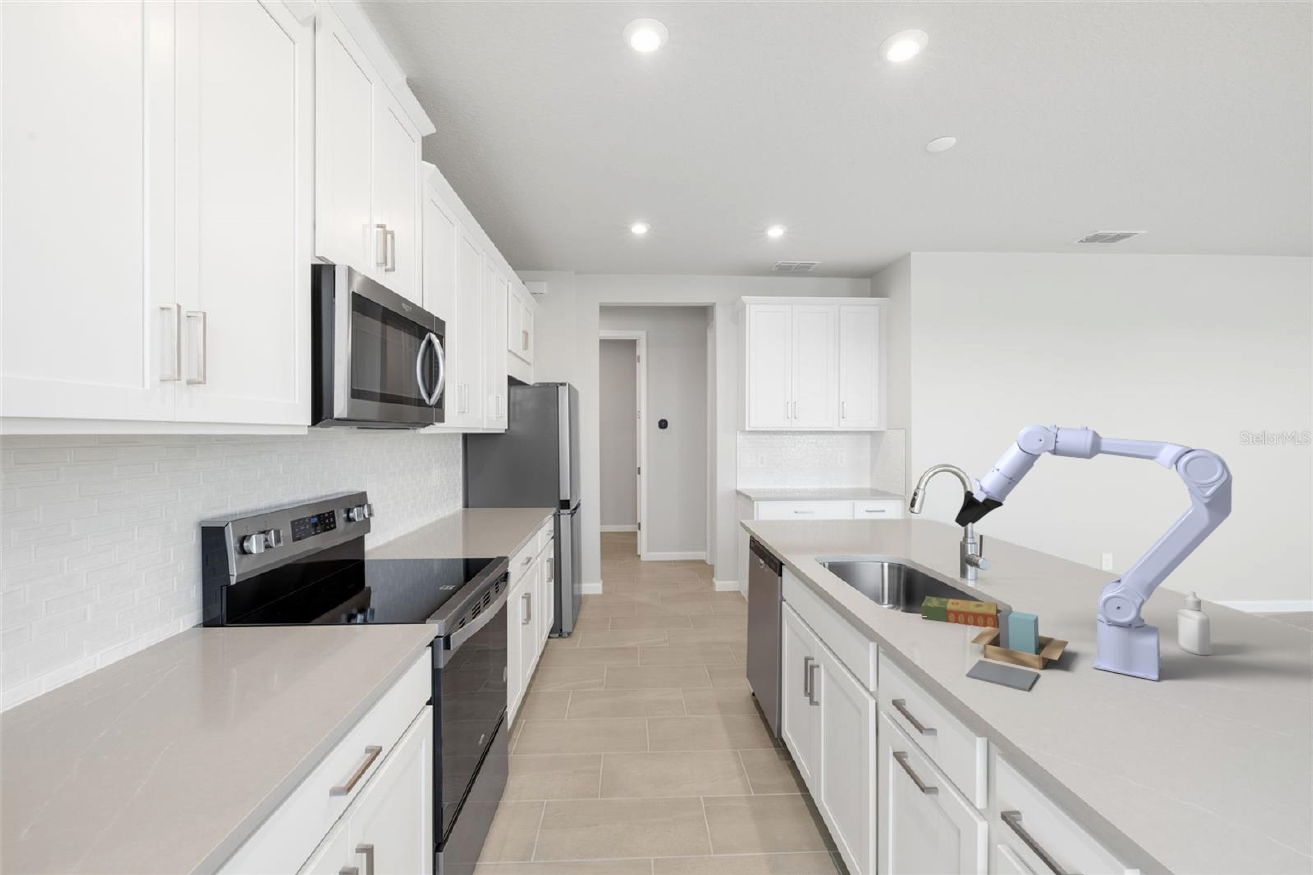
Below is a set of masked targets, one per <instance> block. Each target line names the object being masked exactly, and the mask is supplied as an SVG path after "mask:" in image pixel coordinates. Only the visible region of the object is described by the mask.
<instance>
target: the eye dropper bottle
mask: <svg viewBox="0 0 1313 875" xmlns="http://www.w3.org/2000/svg"><path fill="white" fill-rule="evenodd" d="M1210 626H1211V625H1210V618H1209V616H1208V615H1207V614H1206V613H1205V612H1203V611H1202V599H1200V598H1198V597H1197V595H1196V592H1195V591H1190V592H1189V595H1188V596H1186V597H1184V607H1183V608H1180V609H1178V611H1177V643H1178V644H1177V645H1178V647H1180V648H1181V649H1182V650H1184V651H1186V652H1188V653H1191V654H1194V655H1198V656H1210V655H1211V630H1210V629H1211V627H1210Z"/></svg>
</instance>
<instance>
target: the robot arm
mask: <svg viewBox="0 0 1313 875" xmlns="http://www.w3.org/2000/svg"><path fill="white" fill-rule="evenodd" d="M1046 452H1047V453H1049V454H1050V455H1051V456H1058V457H1068V458H1075V459H1085V460H1090V459H1092V458H1095V457H1096V456H1097V455H1099V454H1102V455H1111V456H1118V457H1125V458H1134V459H1141V460H1142V459H1143V460H1149V461H1150V460H1151V461H1154V462H1155V463H1157V464H1159V465H1161V466H1162V467H1165V468H1166V469H1168V470H1172V468H1173V466H1174V465H1175V471H1176V472H1177V474H1178V475H1179V477H1180V479H1181V480H1182V481H1183V484H1185V485H1186V487H1187V490H1188V494H1189V497H1190V500H1191V503H1192V504H1191V506H1190V507H1189V508H1188V509H1187V510H1186V511H1185V512H1183V514H1182V515H1181V516H1180V517H1179V518H1178V519H1177V520H1176V521H1175V523H1174V524H1173V525H1172V526H1171V527H1170V528H1169V529H1168V530H1166V532H1165V533H1164V534H1163V535H1162V536H1161V537H1160V538H1159V539H1158V540H1157V541H1156V542H1155V543H1154V544H1153V545H1152V546H1151V547H1150V548H1149V549H1148V550H1147V552H1146V553H1144V554H1143V555H1142V556H1141V558H1139V560H1137V561H1136V563H1134V564H1133V566H1132V567H1131V568H1129V569H1128V570H1127V571H1126V572H1124V573H1123V574H1122V575H1121V576H1120V577H1119V578H1118V579H1115V580H1111V581H1110V582H1107V583H1105V584H1104V585H1103V586H1102V587H1101V590H1100V593H1099V597H1098V601H1097V608H1098V609H1097V610H1098V611H1099V613H1097V614H1096V641H1097V642H1096V646H1097V649H1096V650H1097V651H1096V652H1097V654H1096V657H1095V659H1094V662H1093V663H1092V667H1093V668H1094V669H1099V670H1103V671H1107V672H1113V673H1117V674H1118V673H1119V674H1122V675H1128V676H1132V677H1137V678H1141V679H1147V680H1151V681H1158V680H1159V677H1160V672H1161V669H1162V666H1163V659H1162V657H1161V649H1160V628H1159V627H1158V626H1155V625H1150V624H1147V623H1145V622H1146V621H1145V619H1144V618H1142V616H1141V613H1142V608H1143V606H1144V605H1145V603H1146V602H1148V601H1149V599H1150V598H1151V596H1152V595H1153V593H1154V591H1155V590H1156V589H1157V588H1158V587H1159V586H1160V585H1161V584H1162V583H1163V582H1164V581H1165V580H1166V579H1167V578H1168V577H1169V576H1170V575H1171V574H1172V573H1173V572H1174V571H1175V570H1176V569H1177V568H1178V567H1179V566H1180V565H1181V564H1182V563H1183V562H1184V561H1185V560H1186V559H1187V558H1188V557H1189V556H1190V555H1191V554H1192V553H1193V552H1194V551H1195V550H1196V549H1197V548H1198V547H1199V546H1200V545H1201V544H1202V543H1203V542H1204V541H1205V540H1206V539H1207V538H1208V537H1209V536H1210V535H1211V534H1213V532H1214V531H1215V530H1216V529H1217V528H1218V527H1219V526H1220V525H1221V524H1222V523H1223V522H1224V521H1226V519H1227V518H1228V517H1229V516H1230V514H1231V513H1232V502H1233V501H1232V496H1233V495H1232V493H1233V492H1232V491H1233V490H1232V489H1233V488H1232V487H1233V486H1232V484H1233V475H1232V473H1231V471H1230V469H1229V466H1228V465H1227V463H1226V461H1225V460H1224V458H1222V457H1221V456H1220V455H1218V454H1217V453H1215V452H1213V451H1211V450H1208V449H1205V448H1192V447H1191V446H1187V445H1181V444H1178V443H1177V444H1176V443H1172V442H1168V441H1158V440H1157V441H1156V440H1141V439H1140V440H1138V439H1124V438H1109V437H1102V436H1100V434H1099V433H1098V432H1097V431H1096V430H1094V429H1088V426H1083V425H1080V426H1078V428H1073V427H1070V428H1069V427H1059V426H1057V424H1052V423H1051V424H1049V427H1046V426H1043V425H1039V424H1038V425H1037V424H1036V425H1029V426H1026V427H1023V429H1022V430H1020V431H1019V434H1018V435H1017V440H1015V441H1014V442H1013V443H1012V444H1010V447H1009V448H1007V449H1006V450H1005V451H1004V453H1003V454H1002V455H1001V456H1000V457H999V458H998V460H996V462H995V463H994V464H993V466H991V468H990V470H989V471H987V472H986V474H985V475H984V476H983V477H982V479H981V480H980V479H978V478H973V480H972V482H973V483H974V484H976V492H975V493H973V492H972V491H971V490H966V492H964V497H963V498H964V499H963V502H962V505H961V507H960V510H959V511H958V513H957V515H956V517H955V520H954V522H955V523H957V524H958V525H959V526H960V527H961V528H965V527H966V526H968V525H970V523H971V525H973V524H974V525H975V524H976V523H977V522H978V521H980V520H981V519H982V518H984V517H985V516H986V515H987V514H989V513H991V512H992V511H994V510H996V509H998V508H1000V507H1002V506H1004V501H1006V498H1007V496H1008V495H1009V494H1010V493H1011V492H1012V491H1013V490H1014V489H1015V488H1016V486H1017V485H1018V484H1020V482H1021V481H1022V480H1023V478H1024V477H1025V476H1026V475H1027V474H1029V471H1030V470H1031V469H1032V468H1033V467H1034V466H1035V463H1036V461H1037V460H1039V458H1040V457H1041V455H1042V454H1043V453H1046Z"/></svg>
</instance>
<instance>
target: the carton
mask: <svg viewBox="0 0 1313 875" xmlns="http://www.w3.org/2000/svg"><path fill="white" fill-rule="evenodd" d="M998 610H999V609H998V604H997V603H995V602H988V601H987V602H986V601H979V600H977V601H974V600H965V599H957V598H946V597H935V596H927V595H926V596H925V598H924V601H923V603H922V604H921V620H925V621H926V620H927V621H934V622H943V623H950V624H956V623H958V624H959V625H964V624H965V625H966V626H971V625H973V627H981V628H986V627H987V626H988V627H993V628H998V622H999V621H998V620H999V612H998ZM922 616H927V617H922ZM958 624H957V625H958Z"/></svg>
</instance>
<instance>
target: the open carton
mask: <svg viewBox="0 0 1313 875" xmlns="http://www.w3.org/2000/svg"><path fill="white" fill-rule="evenodd" d="M970 642H971V643H972V644H975V645H976V644H977V645H982V646H983V658H986V659H991V660H995V661H999V662H1005V663H1008V664H1013V665H1018V666H1022V667H1027V668H1032V669H1037V670H1039V671H1040V670H1042V671H1043V670H1044V668H1045V666H1046V665H1047V663H1048V662H1049V661H1050V660H1055V661H1058V660H1059V658H1060V656H1061V655H1062V653H1063V651H1065V649H1066V647H1067V645H1068V644H1069V641H1068V640H1063V639H1058V638H1055V637H1052V636H1044V635H1039V649H1042V651H1041V652H1040V653H1039V655H1034V654H1030V653H1025V652H1020V651H1015V650H1010V649H1005V648H1000V628H999V627H997V628H993V627H988V626H987V627H984V629H983V630H982V631H981V632H980V633H978V635H976V637H974V639H972V640H971V641H970Z"/></svg>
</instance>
